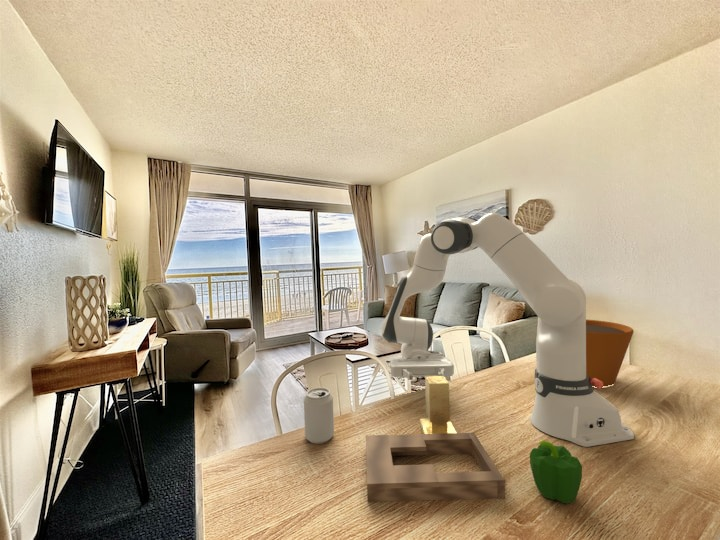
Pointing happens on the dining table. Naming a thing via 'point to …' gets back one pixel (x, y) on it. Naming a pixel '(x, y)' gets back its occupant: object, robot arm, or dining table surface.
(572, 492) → the bell pepper
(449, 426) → the brass peg
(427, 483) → the walnut keyhole plate
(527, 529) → the dining table surface
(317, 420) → the can
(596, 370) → the flower pot
